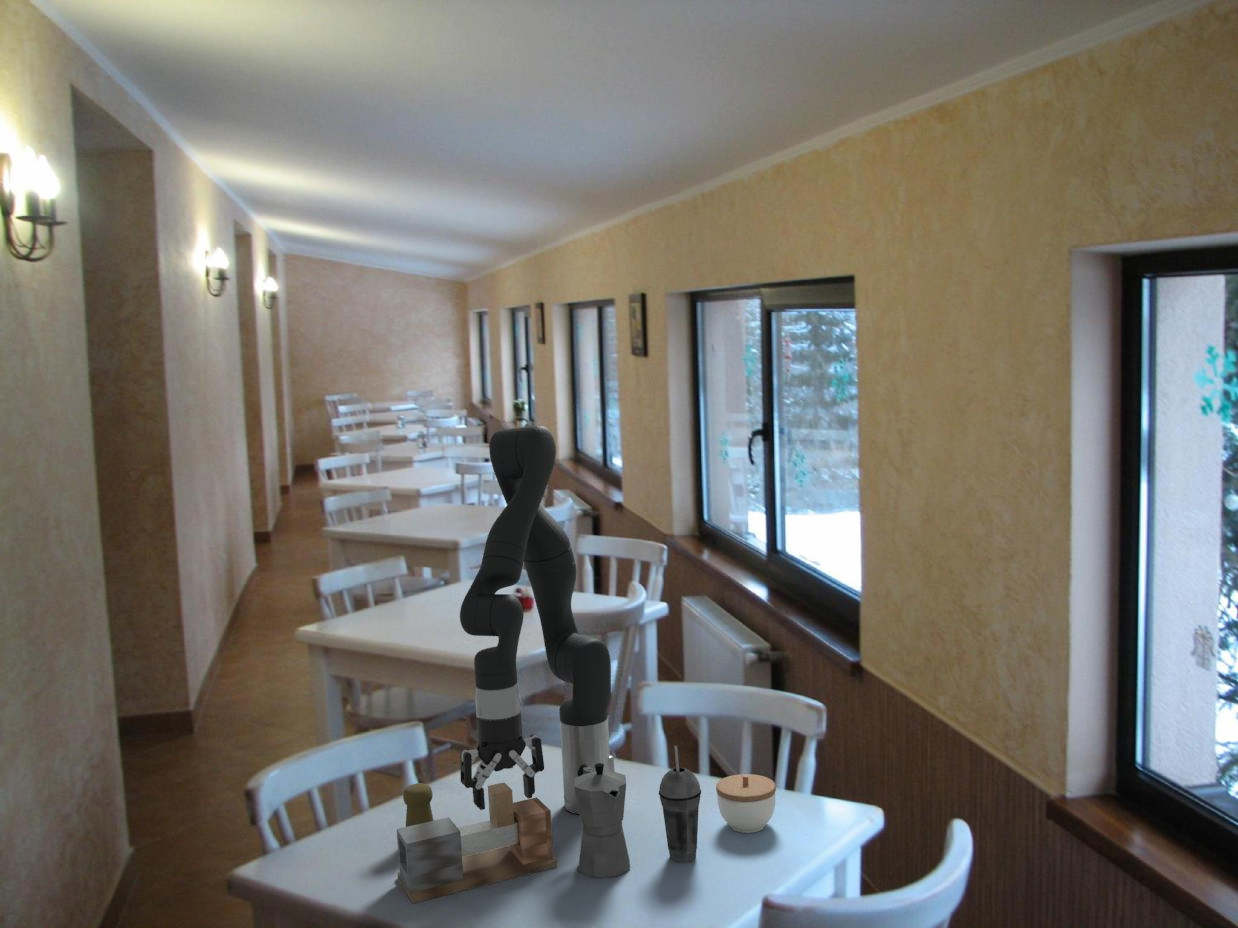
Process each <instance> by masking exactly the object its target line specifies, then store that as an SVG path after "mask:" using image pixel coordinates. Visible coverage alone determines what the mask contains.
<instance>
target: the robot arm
mask: <svg viewBox="0 0 1238 928" xmlns="http://www.w3.org/2000/svg"><path fill="white" fill-rule="evenodd" d="M488 445H489V457H490V463H491V466H492V470H493V473H494V476H495V478H496V480H497V483H498V486H499V489H500V490H501V493H502V495H503V498H504V501H505V503H506V506H505V507H504V509H503V510H502V511H501V513H500V514H499V516H497V518H496V519H495V521H494V523H493V524H492V525H491V527H490V530H489V532H488V534H487V537H486V541H485V545H484V550H483V554H482V560H481V565H480V568H479V569H478V571H477V573H476V576H475V577H474V578H473V579H474V580H472V581H473V582H472V584H471V585H470V587H469V588H468V591H467V593H466V594H465V596H464V599H463V601H462V603H461V606H460V611H459V621H460V625H461V627H462V629H463V631H464V632H465V633H466V634H468V635H470V636H478V637H498V642H497V645H496V646H491V647H487V648H484V649H481V650H479V651H477V653H476V654H475V655H474V657H473V658H474V659H473V660H474V661H473V663H474V664H473V665H474V679H475V695H474V696H475V697H474V698H475V700H474V701H475V713H476V727H477V740H478V741H477V742H478V743H477V747H476V748H475V749H469V750H467V749H466V748H462V749H461V750H460V751H459V755H460V756H459V758H460V762H459V764H460V765H459V766H460V767H459V769H460V770H459V771H460V775H459V776H460V783H461V784H462V785H463V786H464V787H465V788H466V789H470V788H471V789H472V798H473V799H472V802H473V803H474V805H475V806H476V807H477V808H478V809H479V810H480V811H483V810H486V804H485V803H486V802H485V789H484V788H483V786H484V785H485V783H486V780H487V779H489V778H490V777H491V775H492V773H493V772H500V771H503V770H504V769H505V770H509V769H513V768H514V767H515V765H516V766H518V767H519V769H521V771H522V772H524V773H523V774H522V780H523V792H524V793H523V795H524V796H525V798H527V799H532V798H533V795H535V792H536V785H535V775H536V774H537V773H539V772H543V771H544V770H545V762H544V761H545V760H544V754H543V746H542V740H541V738H540V737H539V736H537V735H536V734H534V733H532V734H530V735H529V737H526V738H524V737H523V724H522V709H521V708H522V702H521V696H520V690H519V684H518V671H517V653H518V648H519V641H520V636H521V630H522V626H523V623H524V608H523V604H522V603H521V600H520V599H519V598H518V597H517V596H515V595H514V594H506V593H504V594H503V593H497V592H498V591H500V590H502V589H504V588H507V587H512V586H515V585H516V584H517V583H519V580H521V576H522V570H523V568H525V571H526V575H527V577H528V581H529V584H530V586H531V590H532V593H533V598H534V602H535V606H536V609H537V612H538V616H539V622H540V627H541V630H542V631H541V632H542V637H543V642H544V649H545V655H546V659H547V662H548V666H549V669H550V672H551V673H552V674H553V675H554V676H555V677H556V678H557V679H558V680H561V681H563V682H566V683H570V684H572V697H571V698H570V699H568V700H566V701H564V702H562V703H561V704H560V706H559V712H558V713H559V729H560V745H561V747H560V749H561V764H562V779H563V780H562V781H563V783H562V784H563V799H564V800H563V801H564V802H563V803H564V809H565V810H566V811H568V812H570V813H573V814H576V815H580V813H579V808H578V803H577V798H576V793H575V788H574V778H576V777H578V770H579V768H580V766H581V765H582V764H586V765H587V766H588V767H591V768H593V769H594V772H596V769H595V764H597V763H602V764H604V767H603V771H613V772H616V771H615V769H616V768H615V758H614V756H612V755H611V753H610V736H609V735H610V734H609V717H608V709H609V707H610V704H611V699H612V698H611V697H612V679H611V678H612V665H611V664H612V662H611V661H612V660H611V656H610V652H609V649H608V647H607V644H606V643H604V642H603V641H602V640H601V639H598V638H595V637H590V636H586V635H581V634H580V632H579V630H578V628H577V625H576V621H575V617H574V614H573V610H572V599H573V595H574V594H573V593H574V590H575V586H576V580H577V564H576V560H575V557H574V552H573V549H572V546H571V542H570V538H569V536H568V534H567V533H566V531H565V530H564V529H563V527H562V526H561V525H560V523H558V522H557V521H556V519H555V518H554V517H553V516H552V515H551V514H550V513H549V512H548V511H547V510H546V509H545V508H544V507H543V506H542V504H541V502H542V500H543V498H544V495H545V492H546V490H547V486H548V484H549V482H550V481H549V480H550V478H551V475H552V473H553V470H554V467H555V466H554V465H555V463H556V456H557V446H556V441H555V438H554V436H553V434H552V432H551V431H550V429H548V428H547V427H546V426H543V425H528V426H520V427H513V428H512V427H511V428H506V429H501V430H497V431H496V432H494V433H493V434H492V435H491V438H490V440H489V444H488ZM523 566H524V567H523ZM526 747H527V749H528V750H530V752H531V760H532V764H528V763H527V762H526V761H525V760H524V759H523V758H522V757H521V756H522V754H523V753H524V751H525V749H526ZM477 757H478V758H479V759H480V762H479V764H478V765H477V767H476V771H475V773H474V775H473V773H472V772H473V771H472V769H473V768H472V767H473V766H472V764H474V763H475V761H476V758H477ZM472 775H473V776H472Z"/></svg>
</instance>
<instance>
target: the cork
mask: <svg viewBox="0 0 1238 928" xmlns="http://www.w3.org/2000/svg"><path fill="white" fill-rule="evenodd" d="M433 796H434V795H433V790H432V788H431V786H430V785H429V784H427V783H421V782H420V783H419V782H418V783H413V784H410V785H408V786H407V787H406V788H405V789H404V791H403V794H402V798H403V799H402V800H403V802H404V804H405V806H406V817H405V827H408V826H413V825H417V824H421V823H426V822H430V821H435V820H434V816H433V812H432V807H431V802H432V800H433Z"/></svg>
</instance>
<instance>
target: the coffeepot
mask: <svg viewBox="0 0 1238 928" xmlns="http://www.w3.org/2000/svg"><path fill="white" fill-rule="evenodd" d="M603 767H604V764H602V763H597V764H595V769H596V772H594V769H593V768H591V767H588V766H587V765H586V764H582V765H581V766H580V768H579V770H578V777H576V778H574V788H575V793H576V798H577V803H578V808H579V813H580V814H579V816H580V821H581V822H580V823H582V830H581V831H582V832H581V842H580V851H579V860H578V868H579V869H578V870H579V872H580V873H581V874H583V875H584V876H587V877H589V878H593V879H594V878H595V879H608V878H613V877H618V876H620V875H621V876H622V874H625V873H626V872H627V871H628V870H629V869H630V868H631V863H630V862H631V861H630V855H629V852H628V851H629V850H628V846H627V841H626V838H625V831H624V828H623V820H624V816H625V814H624V812H625V805H626V804H625V802H626V792H627V779H626V774H622V773H619V772H616V771H615V772H613V771H603Z"/></svg>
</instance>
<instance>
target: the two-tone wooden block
mask: <svg viewBox="0 0 1238 928" xmlns="http://www.w3.org/2000/svg"><path fill="white" fill-rule="evenodd" d="M487 793H488V812H489V820H484V821H480V822H476V823H472V824H468V825H463V826H460V827H459V826H458V827H457V828H458V829H459V830H460V834H461V849H462V857H465V856H469V855H473V854H477V853H481V852H485V851H489V850H493V849H498V848H502V847H506V846H510V845H513V844H518V843H520V836H519V821H518V820H517V819H516V818H515V817H514V812H513V803H514V801H513V799H514V798H513V789H512V788H511V787H510V786H509V785H508V784H507V783H505V782H504V781H503V782H501V783H500V782H499V783H496V784H490V785H487Z"/></svg>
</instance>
